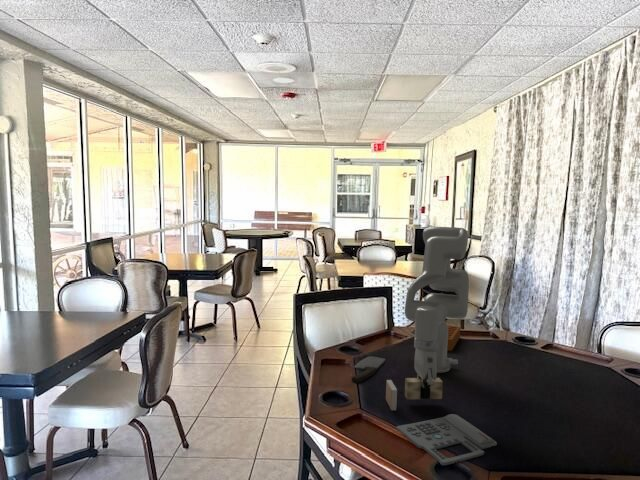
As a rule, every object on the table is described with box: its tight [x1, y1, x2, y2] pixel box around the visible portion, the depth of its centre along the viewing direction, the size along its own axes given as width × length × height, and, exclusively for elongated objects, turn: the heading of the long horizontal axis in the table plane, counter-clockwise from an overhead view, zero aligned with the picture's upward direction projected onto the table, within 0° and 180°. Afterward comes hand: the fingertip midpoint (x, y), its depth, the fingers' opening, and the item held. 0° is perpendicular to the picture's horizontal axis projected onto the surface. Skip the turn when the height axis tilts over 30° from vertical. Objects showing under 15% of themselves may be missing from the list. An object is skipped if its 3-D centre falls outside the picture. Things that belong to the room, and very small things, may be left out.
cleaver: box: [351, 355, 386, 383], centre depth 172 cm, size 30×10×2 cm, turn 155°
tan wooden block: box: [404, 377, 444, 400], centre depth 142 cm, size 12×3×6 cm, turn 94°
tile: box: [385, 379, 398, 411], centre depth 141 cm, size 2×8×7 cm, turn 4°
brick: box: [447, 324, 461, 352], centre depth 211 cm, size 25×12×6 cm, turn 153°
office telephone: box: [396, 413, 498, 466], centre depth 121 cm, size 23×3×20 cm
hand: (423, 395), depth 142 cm, fingers closed on tan wooden block, 3 cm apart
